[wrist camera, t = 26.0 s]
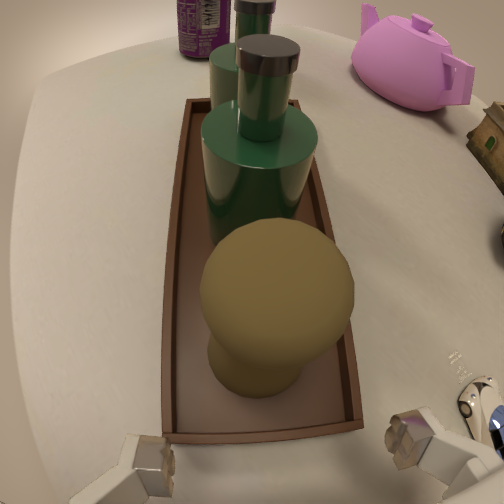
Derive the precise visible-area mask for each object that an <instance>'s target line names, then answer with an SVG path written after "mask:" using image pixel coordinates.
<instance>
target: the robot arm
mask: <svg viewBox="0 0 504 504" xmlns="http://www.w3.org/2000/svg"><path fill="white" fill-rule="evenodd" d="M390 424H391V426H390V427H389V428H388V429H387V430H386V433H385V445H386V447H387V449H388V451H389V452H391V453H393V454H394V456H393V461H394V463H395V464H396V466H397V468H398V470H402V469H406V468H409V467H412V466H415V465H417V466H418V467H419V468H421V469H422V470H424V471H426V472H427V473H429V474H430V475H432V476H433V477H435V478H437V479H438V480H440V481H441V482H443V483H445V484H446V485H448V486H449V487H448V488H447V490H446V491H445V492H444V494H443V496H442V498H443V500H442V501H440V502H438V503H435V504H504V461H503V460H502V459H501V458H500V456H499V455H498V454H497V453H496V451H495V450H494V449H493V448H492V447H490V446H488V445H485V444H483V443H480V442H478V441H475V440H473V439H470V438H468V437H465V436H463V435H460V434H458V433H455V432H453V431H451V430H447V431H446V430H445V428H444V427H443V426H442V424H441V423H440V422H439V420H438V419H437V418H436V416H435V415H434V414H433V413H432V411H431V410H430V409H429V408H428V407H426V406H425V407H422V408H419V409H415V410H411V411H407V412H404V413H400V414H396V415H393V417H392V418H391V420H390ZM174 474H175V457H174V452H173V451H172V450H171V441H170V438H168V437H157V436H146V435H136V434H127V435H126V437H125V440H124V443H123V447H122V450H121V454H120V457H119V461H118V464H117V467H114V466H113V467H112V468H110V469H109V470H108V471H106V472H105V473H104V474H102V475H101V476H100V477H99V478H97V479H96V480H95V481H93V482H92V483H91V484H89V485H88V486H86V487H85V488H84V489H82V490H81V491H80V492H78V493H77V494H76V495H74V496H73V497H71V498H70V500H69V503H68V504H143V503H144V502H145V501H146V500H147V499H148V498H149V496H154V497H170V498H172V494H173V485H174V483H173V480H172V476H173V475H174ZM0 504H5V503H3V502H1V501H0Z"/></svg>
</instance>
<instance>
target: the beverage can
mask: <svg viewBox="0 0 504 504" xmlns="http://www.w3.org/2000/svg"><path fill="white" fill-rule="evenodd" d="M230 10H231V0H177V16H178V34H179V35H178V36H179V50H180V52H181V53H182V54H184V55H187V56H191V57H194V58H209V56H210V54H211V52H212V51H213V50H214V49H216V48H218V47H220V46H222V45H225V44H229V43H230V12H231V11H230Z"/></svg>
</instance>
